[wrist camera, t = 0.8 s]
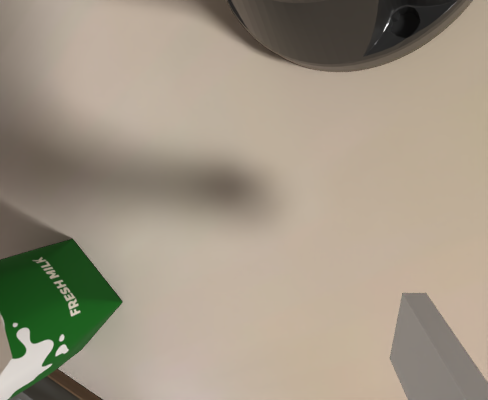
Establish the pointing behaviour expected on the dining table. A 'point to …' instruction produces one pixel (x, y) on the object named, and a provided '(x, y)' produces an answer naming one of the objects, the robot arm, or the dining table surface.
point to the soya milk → (49, 311)
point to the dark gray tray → (56, 389)
